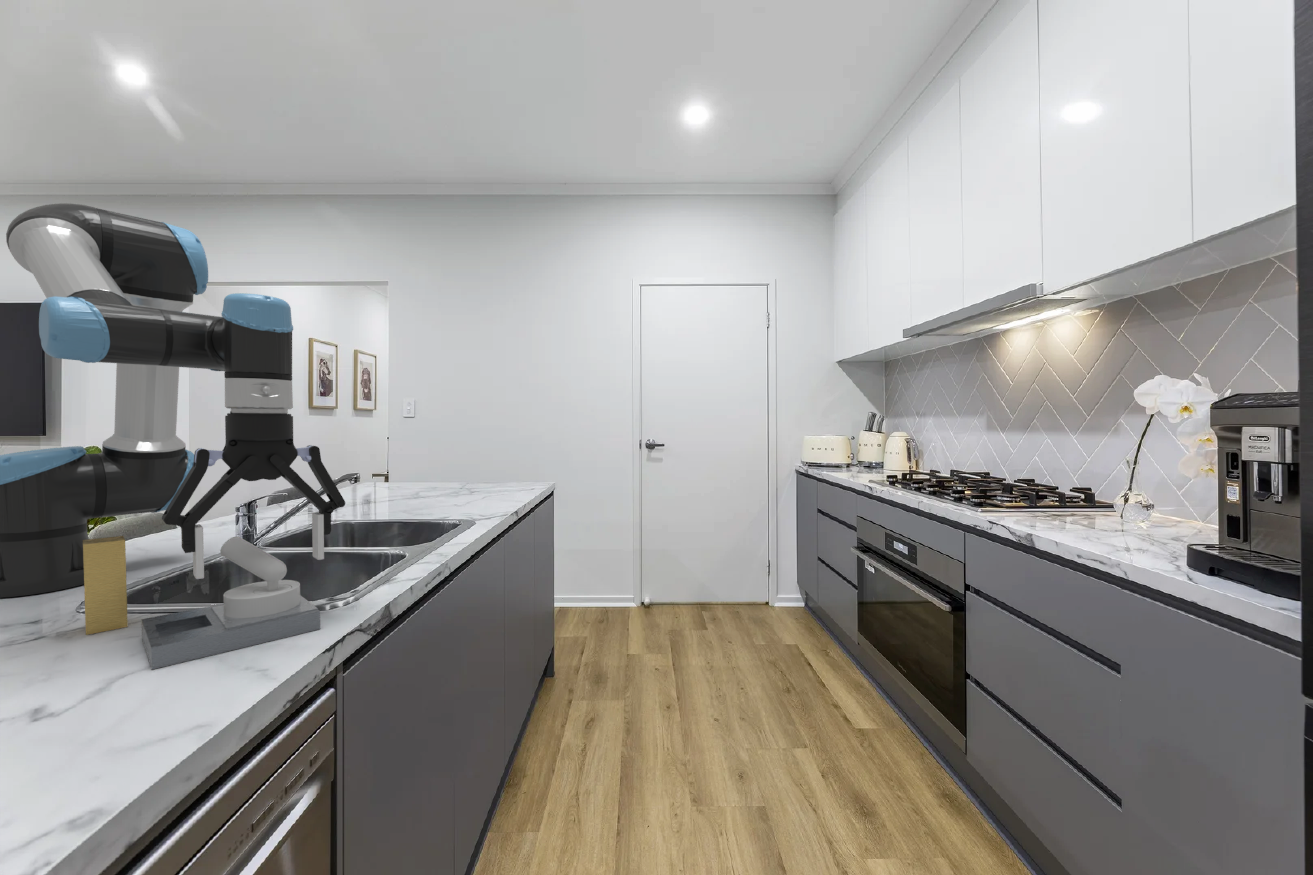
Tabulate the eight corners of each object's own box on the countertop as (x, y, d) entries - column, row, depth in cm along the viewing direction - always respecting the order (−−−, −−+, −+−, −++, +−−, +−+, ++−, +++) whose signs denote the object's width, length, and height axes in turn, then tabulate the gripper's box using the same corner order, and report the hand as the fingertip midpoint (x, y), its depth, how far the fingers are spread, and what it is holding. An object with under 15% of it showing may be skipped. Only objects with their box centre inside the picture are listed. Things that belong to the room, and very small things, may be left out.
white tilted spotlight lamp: (255, 530, 82) (313, 533, 80) (256, 594, 82) (314, 599, 80) (196, 543, 73) (260, 546, 72) (198, 614, 74) (262, 620, 72)
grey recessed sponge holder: (141, 638, 72) (141, 618, 72) (293, 606, 85) (293, 589, 85) (151, 669, 63) (151, 646, 63) (320, 629, 76) (319, 610, 76)
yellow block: (85, 627, 76) (82, 540, 76) (125, 619, 79) (123, 535, 79) (85, 634, 74) (83, 544, 73) (127, 626, 76) (125, 539, 76)
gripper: (136, 410, 64) (141, 592, 65) (368, 412, 82) (369, 555, 83) (131, 410, 69) (135, 579, 70) (350, 412, 87) (351, 546, 88)
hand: (262, 566), depth 77 cm, fingers open, 13 cm apart
